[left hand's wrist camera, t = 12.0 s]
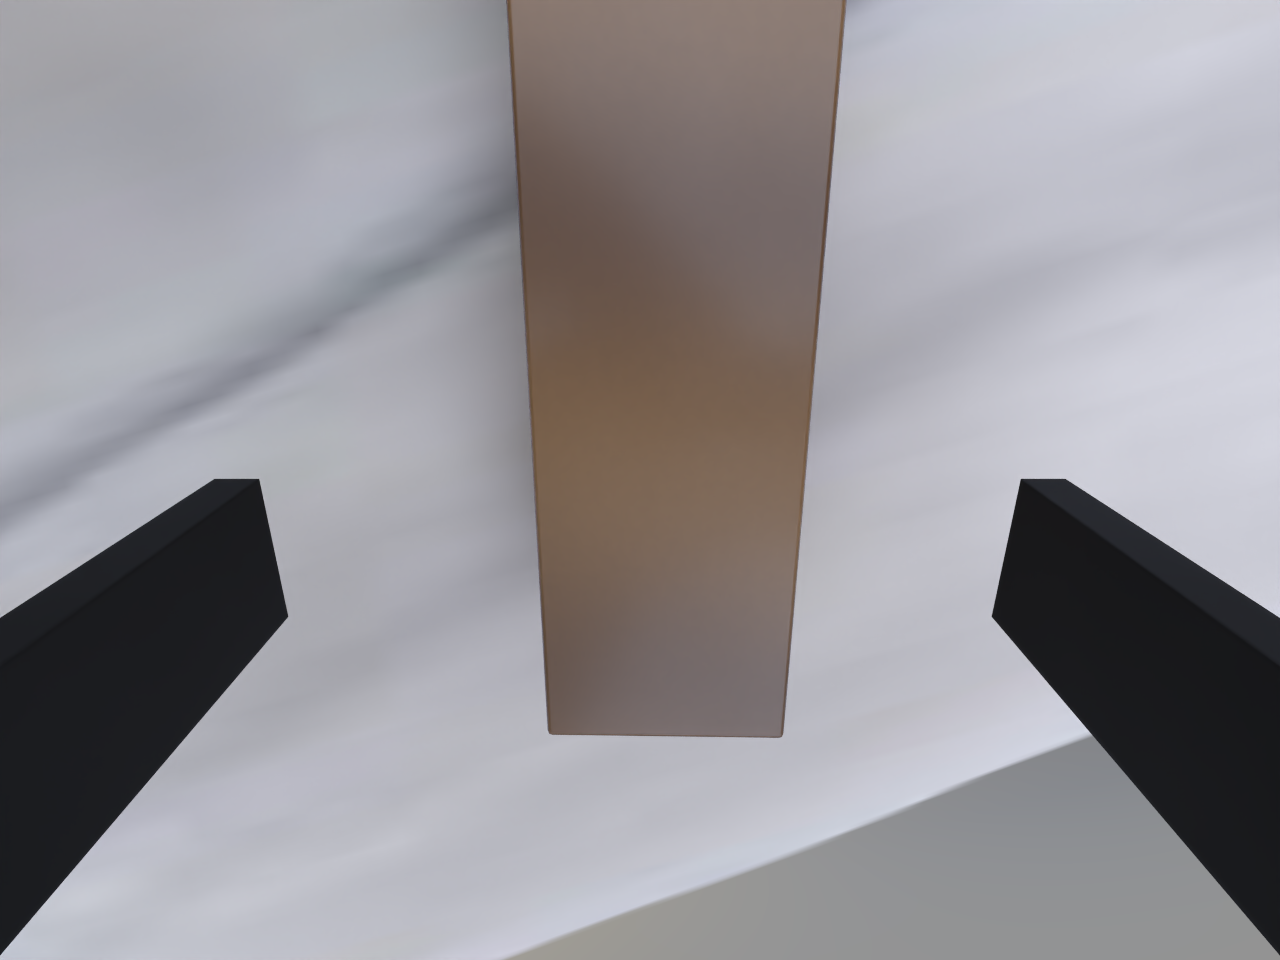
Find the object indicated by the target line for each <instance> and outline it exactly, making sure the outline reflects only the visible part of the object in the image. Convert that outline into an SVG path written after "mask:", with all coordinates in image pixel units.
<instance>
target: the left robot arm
mask: <svg viewBox="0 0 1280 960" xmlns="http://www.w3.org/2000/svg"><path fill="white" fill-rule="evenodd" d="M287 618H288V613H287V609H286V604H285V599H284V594H283V590H282V585H281V580H280V576H279V571H278V566H277V561H276V557H275V552H274V547H273V543H272V538H271V533H270V528H269V524H268V519H267V514H266V509H265V505H264V500H263V495H262V491H261V486H260V481H259V479H214V480H212V481H211V482H209V483H208V484H206V485H205V486H203V487H201V488H200V489H198V490H197V491H195V492H194V493H192V494H191V495H189V496H188V497H186V498H184V499H183V500H181V501H180V502H178V503H177V504H175V505H174V506H172V507H171V508H169V509H168V510H166V511H164V512H163V513H161V514H160V515H158V516H157V517H155V518H154V519H152V520H151V521H149V522H147V523H146V524H144V525H143V526H141V527H140V528H138V529H137V530H135V531H134V532H132V533H130V534H129V535H127V536H126V537H124V538H123V539H121V540H120V541H118V542H117V543H115V544H114V545H112V546H110V547H109V548H107V549H106V550H104V551H103V552H101V553H100V554H98V555H97V556H95V557H93V558H92V559H90V560H89V561H87V562H86V563H84V564H83V565H81V566H80V567H78V568H77V569H75V570H73V571H72V572H70V573H69V574H67V575H66V576H64V577H63V578H61V579H60V580H58V581H56V582H55V583H53V584H52V585H50V586H49V587H47V588H46V589H44V590H43V591H41V592H39V593H38V594H36V595H35V596H33V597H32V598H30V599H29V600H27V601H26V602H24V603H23V604H21V605H19V606H18V607H16V608H15V609H13V610H12V611H10V612H9V613H7V614H6V615H4V616H2V617H1V618H0V955H1V954H2V952H3V951H4V950H5V949H6V948H7V947H8V945H9V944H10V943H11V942H12V941H13V940H14V938H15V937H16V936H17V935H18V934H19V932H20V931H21V930H22V929H23V928H24V927H25V925H26V924H27V923H28V922H29V921H30V920H31V918H32V917H33V916H34V915H35V914H36V912H37V911H38V910H39V909H40V908H41V907H42V905H43V904H44V903H45V902H46V901H47V900H48V898H49V897H50V896H51V895H52V894H53V893H54V891H55V890H56V889H57V888H58V887H59V885H60V884H61V883H62V882H63V881H64V880H65V878H66V877H67V876H68V875H69V874H70V873H71V871H72V870H73V869H74V868H75V867H76V865H77V864H78V863H79V862H80V861H81V860H82V858H83V857H84V856H85V855H86V854H87V853H88V851H89V850H90V849H91V848H92V847H93V846H94V844H95V843H96V842H97V841H98V840H99V838H100V837H101V836H102V835H103V834H104V833H105V831H106V830H107V829H108V828H109V827H110V826H111V824H112V823H113V822H114V821H115V820H116V818H117V817H118V816H119V815H120V814H121V813H122V811H123V810H124V809H125V808H126V807H127V806H128V804H129V803H130V802H131V801H132V800H133V798H134V797H135V796H136V795H137V794H138V793H139V791H140V790H141V789H142V788H143V787H144V786H145V784H146V783H147V782H148V781H149V780H150V779H151V777H152V776H153V775H154V774H155V773H156V771H157V770H158V769H159V768H160V767H161V766H162V764H163V763H164V762H165V761H166V760H167V759H168V757H169V756H170V755H171V754H172V753H173V751H174V750H175V749H176V748H177V747H178V746H179V744H180V743H181V742H182V741H183V740H184V739H185V737H186V736H187V735H188V734H189V733H190V732H191V730H192V729H193V728H194V727H195V726H196V724H197V723H198V722H199V721H200V720H201V719H202V717H203V716H204V715H205V714H206V713H207V712H208V710H209V709H210V708H211V707H212V706H213V704H214V703H215V702H216V701H217V700H218V699H219V697H220V696H221V695H222V694H223V693H224V692H225V690H226V689H227V688H228V687H229V686H230V684H231V683H232V682H233V681H234V680H235V679H236V677H237V676H238V675H239V674H240V673H241V672H242V670H243V669H244V668H245V667H246V666H247V665H248V663H249V662H250V661H251V660H252V659H253V657H254V656H255V655H256V654H257V653H258V652H259V650H260V649H261V648H262V647H263V646H264V645H265V643H266V642H267V641H268V640H269V639H270V637H271V636H272V635H273V634H274V633H275V632H276V630H277V629H278V628H279V627H280V626H281V625H282V623H283V622H284V621H285V620H286V619H287ZM992 618H993V619H994V620H995V621H996V622H997V623H998V625H999V626H1000V627H1001V628H1002V629H1003V630H1004V632H1005V633H1006V634H1007V635H1008V636H1009V637H1010V639H1011V640H1012V641H1013V642H1014V643H1015V645H1016V646H1017V647H1018V648H1019V649H1020V650H1021V652H1022V653H1023V654H1024V655H1025V656H1026V657H1027V659H1028V660H1029V661H1030V662H1031V663H1032V665H1033V666H1034V667H1035V668H1036V669H1037V670H1038V672H1039V673H1040V674H1041V675H1042V676H1043V677H1044V679H1045V680H1046V681H1047V682H1048V683H1049V685H1050V686H1051V687H1052V688H1053V689H1054V690H1055V692H1056V693H1057V694H1058V695H1059V696H1060V697H1061V699H1062V700H1063V701H1064V702H1065V703H1066V704H1067V706H1068V707H1069V708H1070V709H1071V710H1072V712H1073V713H1074V714H1075V715H1076V716H1077V717H1078V719H1079V720H1080V721H1081V722H1082V723H1083V724H1084V726H1085V727H1086V728H1087V729H1088V730H1089V732H1090V733H1091V734H1092V735H1093V736H1094V737H1095V739H1096V740H1097V741H1098V742H1099V743H1100V744H1101V746H1102V747H1103V748H1104V749H1105V750H1106V751H1107V753H1108V754H1109V755H1110V756H1111V757H1112V759H1113V760H1114V761H1115V762H1116V763H1117V764H1118V766H1119V767H1120V768H1121V769H1122V770H1123V771H1124V773H1125V774H1126V775H1127V776H1128V777H1129V779H1130V780H1131V781H1132V782H1133V783H1134V784H1135V785H1136V787H1137V788H1138V789H1139V790H1140V791H1141V793H1142V794H1143V795H1144V796H1145V797H1146V799H1147V800H1148V801H1149V802H1150V803H1151V804H1152V806H1153V807H1154V808H1155V809H1156V810H1157V811H1158V813H1159V814H1160V815H1161V816H1162V817H1163V818H1164V820H1165V821H1166V822H1167V823H1168V824H1169V825H1170V827H1171V828H1172V829H1173V830H1174V831H1175V833H1176V834H1177V835H1178V836H1179V837H1180V838H1181V840H1182V841H1183V842H1184V843H1185V844H1186V845H1187V847H1188V848H1189V849H1190V850H1191V851H1192V853H1193V854H1194V855H1195V856H1196V857H1197V858H1198V860H1199V861H1200V862H1201V863H1202V864H1203V865H1204V867H1205V868H1206V869H1207V870H1208V871H1209V873H1210V874H1211V875H1212V876H1213V877H1214V878H1215V879H1216V881H1217V882H1218V883H1219V884H1220V885H1221V887H1222V888H1223V889H1224V890H1225V891H1226V893H1227V894H1228V895H1229V896H1230V897H1231V898H1232V900H1233V901H1234V902H1235V903H1236V904H1237V905H1238V907H1239V908H1240V909H1241V910H1242V911H1243V912H1244V914H1245V915H1246V916H1247V917H1248V918H1249V920H1250V921H1251V922H1252V923H1253V924H1254V925H1255V927H1256V928H1257V929H1258V930H1259V931H1260V932H1261V934H1262V935H1263V936H1264V937H1265V938H1266V940H1267V941H1268V942H1269V943H1270V944H1271V945H1272V947H1273V948H1274V949H1275V950H1276V951H1277V952H1278V954H1279V955H1280V618H1279V617H1278V616H1276V615H1274V614H1273V613H1271V612H1270V611H1268V610H1267V609H1265V608H1264V607H1262V606H1261V605H1259V604H1257V603H1256V602H1254V601H1253V600H1251V599H1250V598H1248V597H1247V596H1245V595H1244V594H1242V593H1241V592H1239V591H1237V590H1236V589H1234V588H1233V587H1231V586H1230V585H1228V584H1227V583H1225V582H1224V581H1222V580H1220V579H1219V578H1217V577H1216V576H1214V575H1213V574H1211V573H1210V572H1208V571H1207V570H1205V569H1203V568H1202V567H1200V566H1199V565H1197V564H1196V563H1194V562H1193V561H1191V560H1190V559H1188V558H1187V557H1185V556H1183V555H1182V554H1180V553H1179V552H1177V551H1176V550H1174V549H1173V548H1171V547H1170V546H1168V545H1166V544H1165V543H1163V542H1162V541H1160V540H1159V539H1157V538H1156V537H1154V536H1153V535H1151V534H1149V533H1148V532H1146V531H1145V530H1143V529H1142V528H1140V527H1139V526H1137V525H1136V524H1134V523H1133V522H1131V521H1129V520H1128V519H1126V518H1125V517H1123V516H1122V515H1120V514H1119V513H1117V512H1116V511H1114V510H1112V509H1111V508H1109V507H1108V506H1106V505H1105V504H1103V503H1102V502H1100V501H1099V500H1097V499H1096V498H1094V497H1092V496H1091V495H1089V494H1088V493H1086V492H1085V491H1083V490H1082V489H1080V488H1079V487H1077V486H1075V485H1074V484H1072V483H1071V482H1069V481H1068V480H1066V479H1021V481H1020V486H1019V491H1018V495H1017V500H1016V505H1015V509H1014V514H1013V519H1012V524H1011V528H1010V533H1009V538H1008V543H1007V547H1006V552H1005V557H1004V561H1003V566H1002V571H1001V576H1000V580H999V585H998V590H997V594H996V599H995V604H994V609H993V613H992Z"/></svg>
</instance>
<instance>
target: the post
mask: <svg viewBox="0 0 1280 960" xmlns="http://www.w3.org/2000/svg"><path fill="white" fill-rule="evenodd" d="M846 1H847V0H507V18H508V36H509V53H510V71H511V89H512V106H513V124H514V142H515V159H516V177H517V195H518V212H519V230H520V248H521V265H522V283H523V301H524V318H525V336H526V354H527V371H528V389H529V406H530V424H531V442H532V459H533V477H534V495H535V512H536V530H537V548H538V565H539V583H540V601H541V618H542V636H543V654H544V671H545V689H546V707H547V724H548V731H549V734H552V735H622V736H696V737H770V738H779V737H782V735H783V731H784V719H785V708H786V696H787V684H788V673H789V661H790V650H791V638H792V626H793V615H794V603H795V592H796V580H797V569H798V557H799V545H800V534H801V522H802V511H803V499H804V488H805V476H806V464H807V453H808V441H809V430H810V418H811V406H812V395H813V383H814V372H815V360H816V349H817V337H818V325H819V314H820V302H821V291H822V279H823V267H824V256H825V244H826V233H827V221H828V210H829V198H830V186H831V175H832V163H833V152H834V140H835V128H836V117H837V105H838V94H839V82H840V71H841V59H842V47H843V36H844V24H845V13H846Z"/></svg>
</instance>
